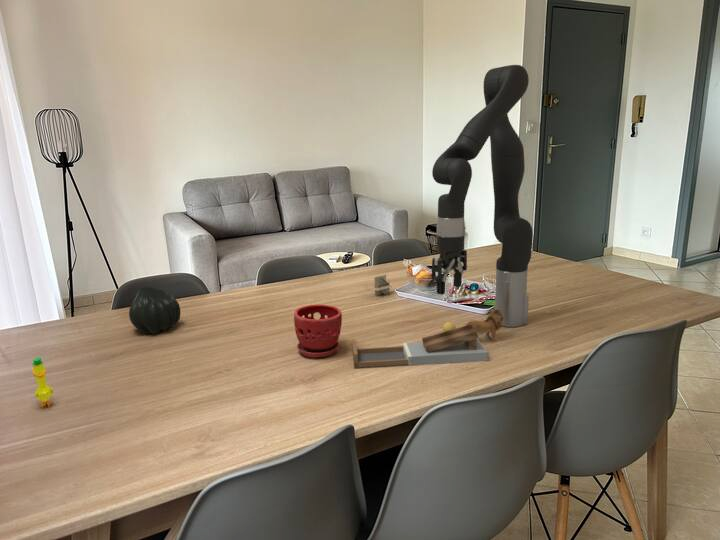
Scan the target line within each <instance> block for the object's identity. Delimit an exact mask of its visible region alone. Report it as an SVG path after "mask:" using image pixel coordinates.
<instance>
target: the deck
mask: <svg viewBox="0 0 720 540" xmlns="http://www.w3.org/2000/svg"><path fill="white" fill-rule="evenodd" d="M402 346H403V352H404V355H405V357H406V359H408V365H407V366H417V365H420V366H423V365H438V364H439V365H440V364H452V363H453V364H454V363H469V362H471V363H473V362H487V361H488V351H487V350H486V349H487V348H485V346H483V344H482V343H481V341H480V340H479V338H477V349H476V350H469V349H468V348H467V346H466V345H465V343H464V342H463V343H460V344H456V345H453V346H450V347H446V348H443V349H439V350H436V351H432V352H429V353H427V352H426V350H425V348H424V346H423V341H422V342H407V343H406V342H405V343H404V342H403V343H402Z"/></svg>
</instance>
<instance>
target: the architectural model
mask: <svg viewBox="0 0 720 540" xmlns="http://www.w3.org/2000/svg"><path fill="white" fill-rule="evenodd" d="M373 278H374V282H373V283H374V287H372V290H373V291H374V296H379V295H383V294H384V295H387V294H390V292H391V290H390V289H391V288H392V287H393V286H392V285H391V284H390V282H389V281H387V274H383V275H378V276H374V277H373Z"/></svg>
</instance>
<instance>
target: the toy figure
mask: <svg viewBox="0 0 720 540" xmlns="http://www.w3.org/2000/svg"><path fill="white" fill-rule="evenodd" d="M32 361H33V363H31V364H32V375H33V377H34V379H35V380H36V383H37V385H38V387H37V388H36V390H35V392H34V395H35V397H36V398H37V400H39V401H40V406H41V405H42V406H46V407H47V405H50V403H51V400H50V398H51V396H52V394H54V389H53V387H50V386H49V385H47V376H46V374H47V369H46V368H45V364H44V361H43V360H42V358H41V357H36V358H35V357H34V358H33V359H32ZM46 404H47V405H46ZM42 406H41V407H42ZM50 406H51V405H50Z"/></svg>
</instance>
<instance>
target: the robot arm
mask: <svg viewBox="0 0 720 540" xmlns="http://www.w3.org/2000/svg"><path fill="white" fill-rule="evenodd" d="M529 82H530V81H529V73H528V72H527V70H526V68H525V67H524V66H523V65H521V64H509V65H504V66H503V65H502V66H500V67H493V68H491V69H489V70H488V71H487V72H486V73H485V76H484V78H483V95H484V102H485V106H484V108H483V109H481V110H480V111H479V112H478V113H477V114H475V115H474V116H472V118H471V119H469V121H468V122H467V123H466V125H464V127H463V128H462V129H461V131H460V133H459V134H458V137H457V138H456V139H455V141H454V142H453V143H452V144H451V145H450V146H449V147H448V148H446V150H445V151H443V152H442V153H441V154H440V155H439V157H437V159H436V160H435V162H434V165H433V166H432V170H431V172H432V174H431V175H432V178H433V180H434V181H435V182H436V183H437V184H439V185H443V186H444V185H445V186H450V188H449V192H448V193H445V194H442V195H440V196H439V197H438V200H437V220H436V245H435V246H436V247H435V248H436V251H438V252H439V257H433V258H432V259H431V260H432V261H431V278H430V279H431V280H433V281H434V280H435V281H436V293H437V294H438V295H442V296H443V295H445V293H446V279H447V276H448V275H449V274H450V272H451V271H453V286H454V287H456V288H460V287H462V282H463V281H462V280H463V279H462V277H463V274H464V271H467V268H468V263H467V262H468V258H467V256H468V255H467V253H468V252H467V250H465V236H466V235H465V234H466V233H465V232H466V231H465V229H466V223H465V201H466V198H467V194H468V191H469V188H470V184H471V181H472V177H473V171H472V170H473V169H472V166H471V164H470V162H469V161H471V160H474V159H476V158H477V157H478V155H479V153H480V152H481V150H482V149H483V147H484V145H485V144H486V142H487V141H488V139H489V140H490V143H489V144H490V157H491V158H490V160H491V162H490V163H491V173H492V187H493V188H492V189H493V197H494V198H493V201H494V209H493V211H494V212H493V235H494V237H495V239H496V240H497V241H498V242H499V243H500V244H502V245H501V255H500V257H499V258H497V259H496V262H495V263H496V264H495V266H496V267H495V289H494V291H495V292H494V293H495V295H494V309H495V308H498V309H501V310H502V312H503V314H504V319H503V323H502V326H501V327H506V328H507V327H509V328H517V327H521V326H524V325H528V320H529V318H528V317H529V300H530V299H529V298H530V295H529V293H527V288H528V286H527V285H528V269H529V268H528V267H529V263H530V261H531V258H532V252H533V251H532V250H533V240H534V239H533V238H534V237H533V236H534V232H533V228H532V227H533V226H532V223H530V221H528V220H527V219H525V218H523V217H521V214H520V211H519V192H520V189H521V186H522V182H523V180H524V175H525V170H526V169H525V151H524V145H523V142H522V140H521V139H520V137H519V135H518V133H517V132H516V130H515V128H514V127H513V124H511V122H510V119H509V116H508V115H509V112H510V111H511V110H512V109H513V108H514V107H515V106H516V105H517V103H518V102H519V101H520V100H521V98H523V97H524V95H525V94H526V91H527V89H528V86H529Z"/></svg>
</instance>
